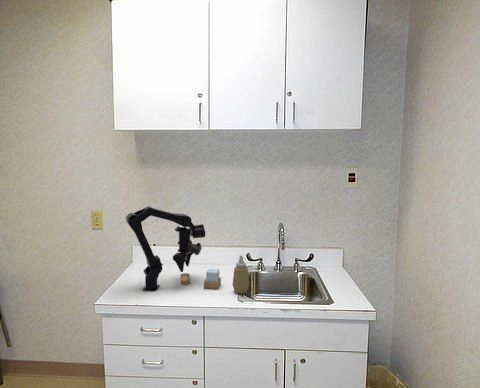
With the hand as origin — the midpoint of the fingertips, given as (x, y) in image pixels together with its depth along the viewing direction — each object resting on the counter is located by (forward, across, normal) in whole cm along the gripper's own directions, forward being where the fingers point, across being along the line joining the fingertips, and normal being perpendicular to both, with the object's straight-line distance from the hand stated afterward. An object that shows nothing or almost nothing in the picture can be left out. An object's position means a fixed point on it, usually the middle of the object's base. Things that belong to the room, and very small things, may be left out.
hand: (184, 269), depth 186 cm
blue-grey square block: (+4, -2, -15) cm, 16 cm away
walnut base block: (+8, -2, -15) cm, 17 cm away
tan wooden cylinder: (+8, 0, 0) cm, 8 cm away
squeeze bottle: (+8, -6, -30) cm, 32 cm away
